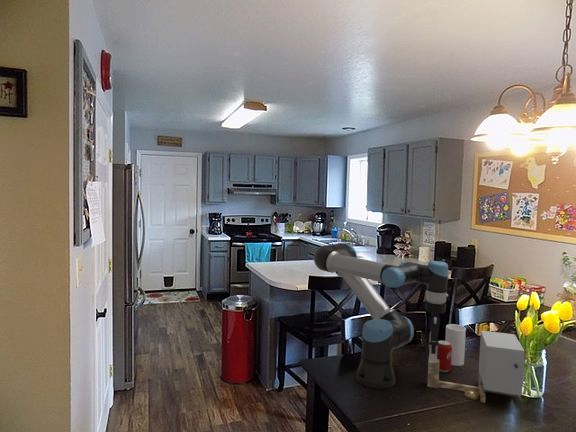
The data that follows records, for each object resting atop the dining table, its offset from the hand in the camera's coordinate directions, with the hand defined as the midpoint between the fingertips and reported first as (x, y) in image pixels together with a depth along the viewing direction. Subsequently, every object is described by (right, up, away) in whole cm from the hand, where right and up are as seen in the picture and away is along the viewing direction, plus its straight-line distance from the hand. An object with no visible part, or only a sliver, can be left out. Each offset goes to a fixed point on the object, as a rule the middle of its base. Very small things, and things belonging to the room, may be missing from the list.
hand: (432, 354), depth 165 cm
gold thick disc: (+12, -13, -8) cm, 19 cm away
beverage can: (+10, -12, +15) cm, 21 cm away
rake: (+7, -13, -5) cm, 15 cm away
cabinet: (+22, -13, -7) cm, 27 cm away
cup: (+18, -11, +24) cm, 32 cm away
